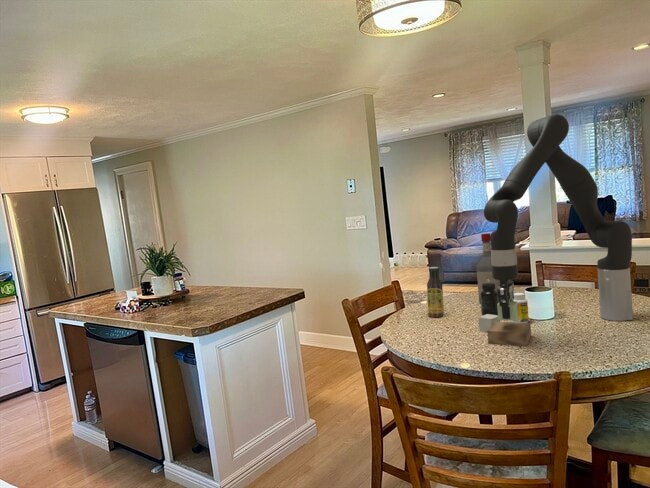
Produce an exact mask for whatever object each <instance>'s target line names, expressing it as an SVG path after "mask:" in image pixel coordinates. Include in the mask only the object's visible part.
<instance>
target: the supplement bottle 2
mask: <svg viewBox="0 0 650 488" xmlns="http://www.w3.org/2000/svg"><path fill="white" fill-rule="evenodd" d="M513 300H514V301H517V309H518V318H517V319H516V321H512V322H515V323H529V319H530V318H529V306H528V305H529V304H528V299H526V295H525V293H523V292H514V299H513Z"/></svg>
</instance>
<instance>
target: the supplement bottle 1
mask: <svg viewBox="0 0 650 488" xmlns="http://www.w3.org/2000/svg"><path fill="white" fill-rule="evenodd" d="M482 289H483V291H482V292H481V293H480V300H481V304H480V309H481V310H480V311H481V316H483V315H486V314H491V315H498V308H497V304H498V303H499V298H498V292H497V291H496V290H495V289H496V287H495V284H494V283H486V284H482Z"/></svg>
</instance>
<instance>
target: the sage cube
mask: <svg viewBox="0 0 650 488" xmlns="http://www.w3.org/2000/svg"><path fill="white" fill-rule="evenodd" d="M503 302H506V301H504V300H503ZM497 308H498V320H500V321H508V322H509V321H511V322H513V321H516V319H517V318H518V309H517V301H510V319H503V317H502V307H501V306H500V305H499V303H498V304H497Z"/></svg>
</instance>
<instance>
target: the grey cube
mask: <svg viewBox="0 0 650 488" xmlns="http://www.w3.org/2000/svg"><path fill="white" fill-rule="evenodd" d="M477 319H478V328H479V329H478V330H479V332H483V333H487V331H488V329H489V328H490V327H491V326H492V324H493V323H494V322H501V320H498V315H491V314H486V315H480V316H478V318H477Z"/></svg>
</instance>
